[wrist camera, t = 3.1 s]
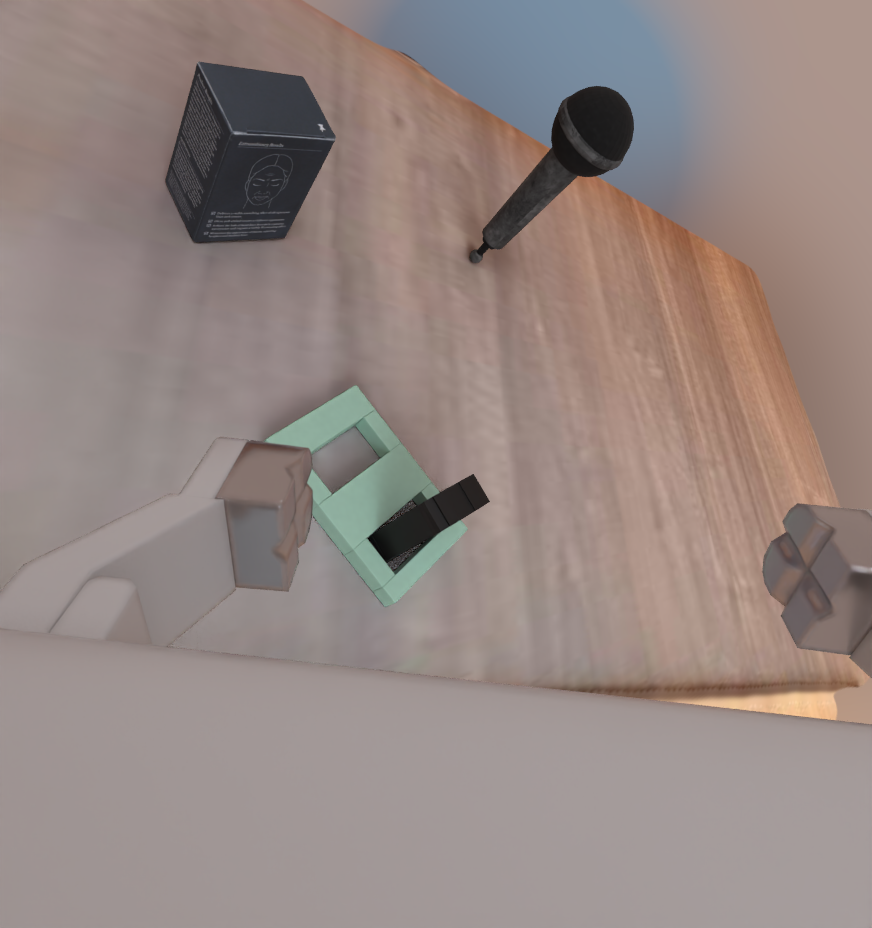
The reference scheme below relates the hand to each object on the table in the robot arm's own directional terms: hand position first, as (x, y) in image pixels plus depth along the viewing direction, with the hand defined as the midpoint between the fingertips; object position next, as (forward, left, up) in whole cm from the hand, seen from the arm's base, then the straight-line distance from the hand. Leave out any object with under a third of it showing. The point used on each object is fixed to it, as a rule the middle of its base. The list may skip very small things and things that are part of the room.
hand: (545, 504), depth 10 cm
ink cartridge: (+2, +18, -31) cm, 36 cm away
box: (-26, +24, -31) cm, 46 cm away
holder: (-2, +18, -30) cm, 35 cm away
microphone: (-14, +46, -31) cm, 57 cm away
